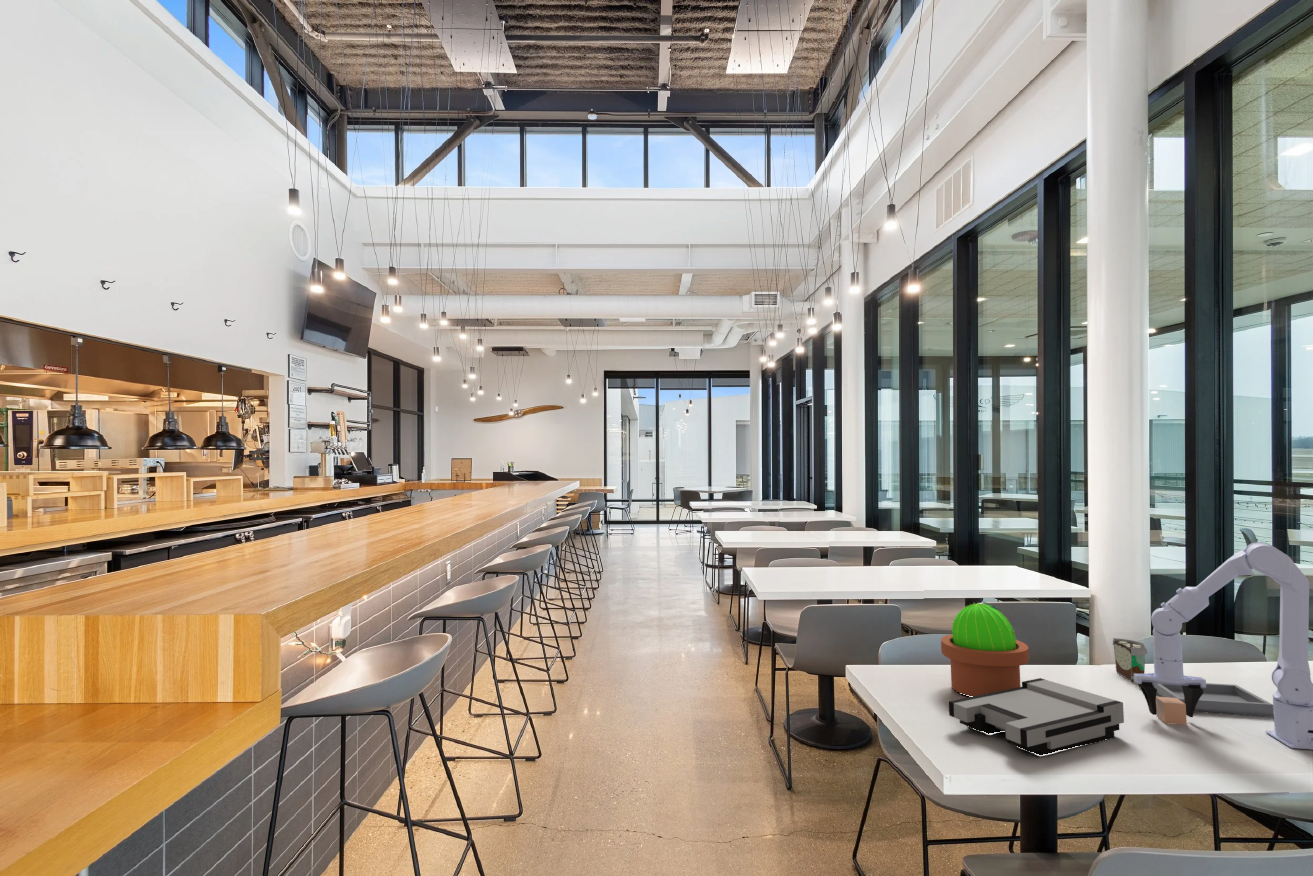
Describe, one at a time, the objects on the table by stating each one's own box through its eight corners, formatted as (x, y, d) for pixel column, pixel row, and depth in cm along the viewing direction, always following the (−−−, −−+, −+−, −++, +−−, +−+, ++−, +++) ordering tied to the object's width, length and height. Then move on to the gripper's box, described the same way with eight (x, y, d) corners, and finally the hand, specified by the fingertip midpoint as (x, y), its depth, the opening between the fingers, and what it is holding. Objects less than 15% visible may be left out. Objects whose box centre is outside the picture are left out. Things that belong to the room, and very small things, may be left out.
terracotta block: (1186, 725, 162) (1185, 704, 162) (1165, 723, 163) (1163, 702, 163) (1177, 718, 166) (1176, 698, 167) (1156, 717, 168) (1155, 696, 168)
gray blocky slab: (949, 731, 161) (948, 696, 162) (1041, 710, 174) (1040, 678, 175) (1028, 764, 142) (1026, 725, 143) (1124, 738, 155) (1123, 702, 156)
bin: (1273, 717, 166) (1273, 704, 166) (1179, 711, 171) (1178, 699, 171) (1236, 696, 181) (1236, 684, 182) (1151, 691, 187) (1150, 680, 187)
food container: (1158, 684, 192) (1156, 649, 193) (1134, 683, 193) (1132, 648, 194) (1136, 672, 204) (1134, 638, 205) (1114, 671, 206) (1112, 637, 206)
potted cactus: (953, 703, 180) (950, 608, 181) (935, 678, 201) (931, 593, 202) (1043, 707, 176) (1038, 610, 177) (1014, 681, 197) (1010, 595, 199)
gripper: (1194, 655, 168) (1197, 711, 167) (1127, 652, 171) (1130, 707, 171) (1209, 663, 161) (1212, 721, 160) (1139, 660, 165) (1142, 716, 164)
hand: (1171, 714), depth 165 cm, fingers open, 7 cm apart
